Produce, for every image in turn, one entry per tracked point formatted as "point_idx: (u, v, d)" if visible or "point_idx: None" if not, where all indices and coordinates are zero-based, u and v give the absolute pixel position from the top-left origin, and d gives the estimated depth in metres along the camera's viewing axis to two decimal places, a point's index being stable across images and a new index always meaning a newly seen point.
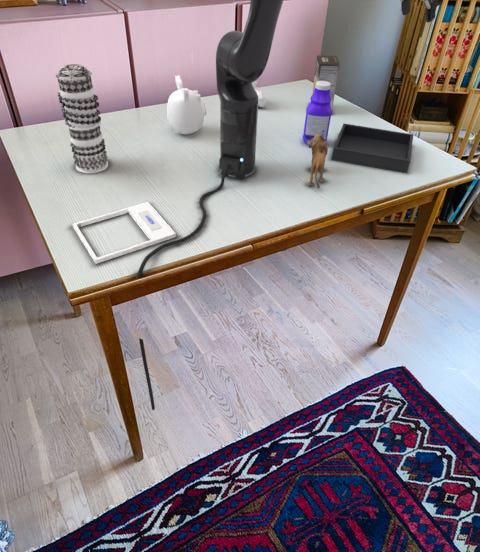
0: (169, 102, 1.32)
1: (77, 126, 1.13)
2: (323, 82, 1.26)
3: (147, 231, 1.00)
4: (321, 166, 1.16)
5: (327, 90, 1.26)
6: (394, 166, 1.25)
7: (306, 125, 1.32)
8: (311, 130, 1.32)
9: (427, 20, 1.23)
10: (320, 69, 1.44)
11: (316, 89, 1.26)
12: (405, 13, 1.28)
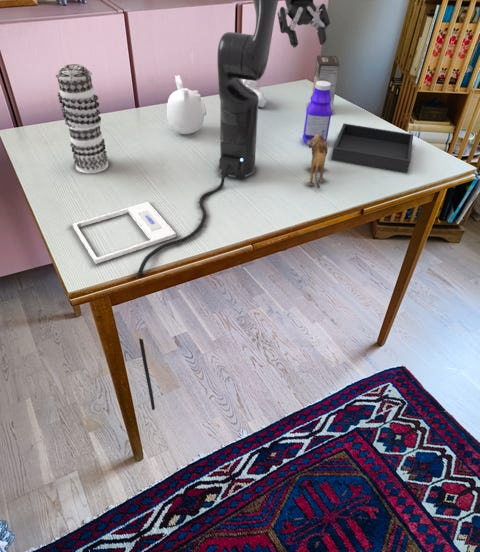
0: (169, 102, 1.32)
1: (77, 126, 1.13)
2: (323, 82, 1.26)
3: (147, 231, 1.00)
4: (321, 166, 1.16)
5: (327, 90, 1.26)
6: (394, 166, 1.25)
7: (306, 125, 1.32)
8: (311, 130, 1.32)
9: (324, 38, 1.29)
10: (320, 69, 1.44)
11: (316, 89, 1.26)
12: None
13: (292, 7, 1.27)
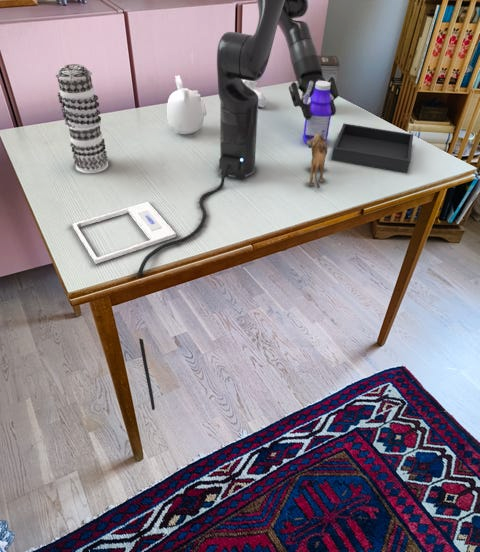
0: (169, 102, 1.32)
1: (77, 126, 1.13)
2: (323, 82, 1.26)
3: (147, 231, 1.00)
4: (321, 166, 1.16)
5: (327, 90, 1.26)
6: (394, 166, 1.25)
7: (306, 125, 1.32)
8: (311, 130, 1.32)
9: (334, 110, 1.31)
10: None
11: (316, 89, 1.26)
12: None
13: (303, 81, 1.29)
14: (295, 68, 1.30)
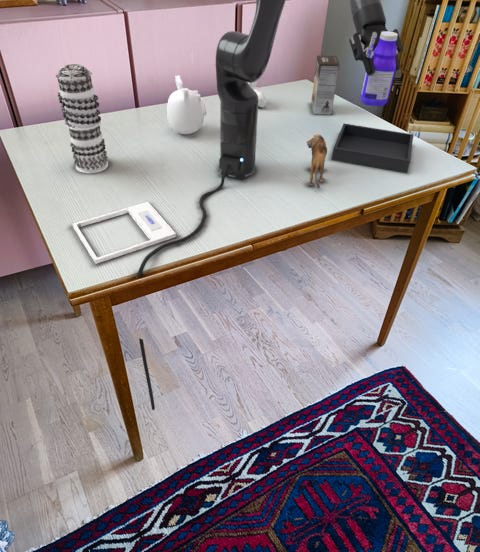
0: (169, 102, 1.32)
1: (77, 126, 1.13)
2: (389, 32, 1.14)
3: (147, 231, 1.00)
4: (321, 166, 1.16)
5: (394, 41, 1.13)
6: (394, 166, 1.25)
7: (367, 82, 1.20)
8: (372, 88, 1.20)
9: (398, 66, 1.19)
10: (320, 69, 1.44)
11: (381, 40, 1.14)
12: None
13: (365, 32, 1.17)
14: (356, 18, 1.17)
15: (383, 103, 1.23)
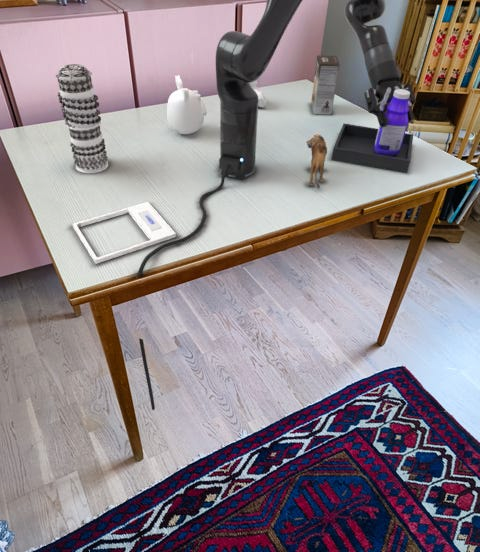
0: (169, 102, 1.32)
1: (77, 126, 1.13)
2: (402, 90, 1.21)
3: (147, 231, 1.00)
4: (321, 166, 1.16)
5: (406, 99, 1.21)
6: (394, 166, 1.25)
7: (380, 135, 1.27)
8: (385, 140, 1.27)
9: (412, 117, 1.26)
10: (320, 69, 1.44)
11: (395, 98, 1.21)
12: None
13: (380, 87, 1.23)
14: (371, 74, 1.24)
15: (395, 153, 1.30)
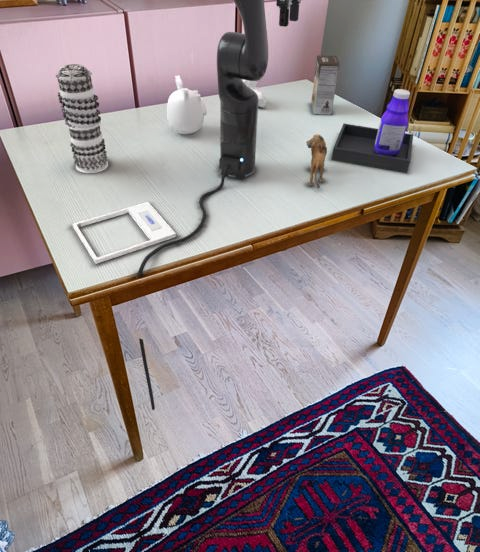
0: (169, 102, 1.32)
1: (77, 126, 1.13)
2: (402, 90, 1.21)
3: (147, 231, 1.00)
4: (321, 166, 1.16)
5: (406, 99, 1.21)
6: (394, 166, 1.25)
7: (380, 135, 1.27)
8: (385, 140, 1.27)
9: (297, 18, 1.19)
10: (320, 69, 1.44)
11: (395, 98, 1.21)
12: None
13: None
14: None
15: (395, 153, 1.30)
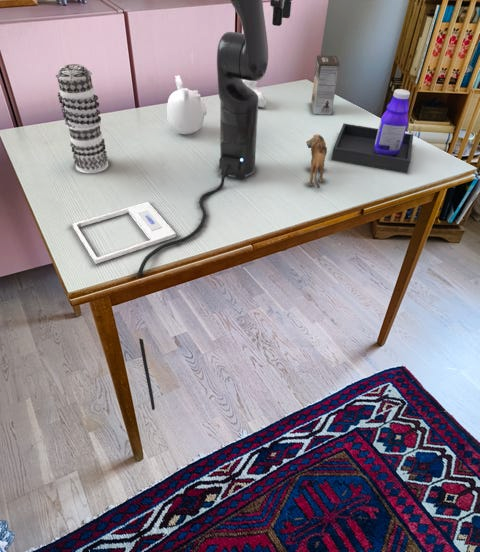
0: (169, 102, 1.32)
1: (77, 126, 1.13)
2: (402, 90, 1.21)
3: (147, 231, 1.00)
4: (321, 166, 1.16)
5: (406, 99, 1.21)
6: (394, 166, 1.25)
7: (380, 135, 1.27)
8: (385, 140, 1.27)
9: (289, 15, 1.18)
10: (320, 69, 1.44)
11: (395, 98, 1.21)
12: None
13: None
14: None
15: (395, 153, 1.30)
